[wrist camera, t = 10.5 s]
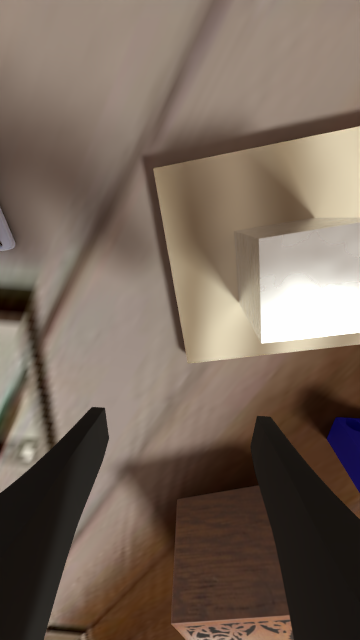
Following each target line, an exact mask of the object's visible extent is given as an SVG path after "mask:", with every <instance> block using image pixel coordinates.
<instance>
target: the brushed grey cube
mask: <svg viewBox="0 0 360 640" xmlns="http://www.w3.org/2000/svg"><path fill="white" fill-rule="evenodd" d="M234 236H235V251H236V267H237V282H238V298H239V304H240V306H241V308H242V310H243V311H244V313H245V315H246V317H247V318H248V320H249V322H250V324H251V326H252V327H253V329H254V331H255V333H256V335H257V336H258V338H259V340H260V342H261V343H270V342H279V341H288V340H296V339H305V338H314V337H322V336H331V335H339V334H348V333H357V332H360V218H309V219H303V220H297V221H291V222H285V223H279V224H273V225H267V226H261V227H255V228H249V229H243V230H237V231H234Z"/></svg>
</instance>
